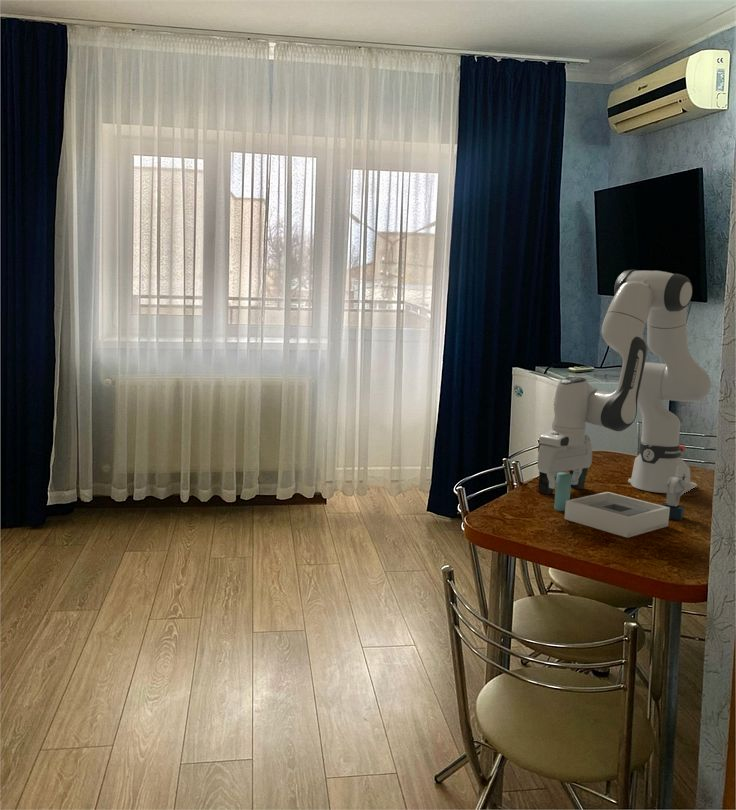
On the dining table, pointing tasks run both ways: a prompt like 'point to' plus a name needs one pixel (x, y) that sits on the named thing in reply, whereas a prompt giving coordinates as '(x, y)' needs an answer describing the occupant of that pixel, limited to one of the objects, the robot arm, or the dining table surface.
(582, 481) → the ceramic cat
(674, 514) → the watch
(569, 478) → the peg
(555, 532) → the dining table surface
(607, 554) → the dining table surface
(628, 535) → the open box
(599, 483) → the dining table surface
